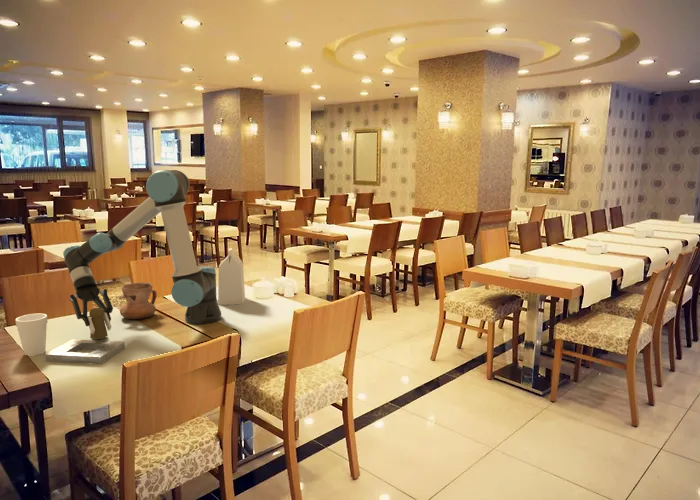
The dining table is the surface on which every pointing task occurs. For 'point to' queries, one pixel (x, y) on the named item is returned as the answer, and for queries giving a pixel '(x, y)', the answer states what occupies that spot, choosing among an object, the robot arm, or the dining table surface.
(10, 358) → the dining table surface
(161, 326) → the dining table surface
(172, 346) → the dining table surface
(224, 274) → the milk
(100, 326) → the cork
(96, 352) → the plate
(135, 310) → the ceramic jug
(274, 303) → the dining table surface
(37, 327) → the foam cup
